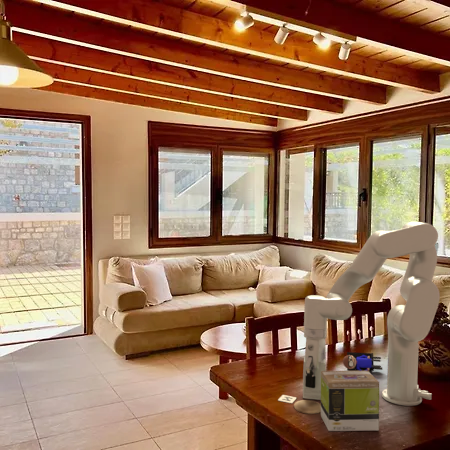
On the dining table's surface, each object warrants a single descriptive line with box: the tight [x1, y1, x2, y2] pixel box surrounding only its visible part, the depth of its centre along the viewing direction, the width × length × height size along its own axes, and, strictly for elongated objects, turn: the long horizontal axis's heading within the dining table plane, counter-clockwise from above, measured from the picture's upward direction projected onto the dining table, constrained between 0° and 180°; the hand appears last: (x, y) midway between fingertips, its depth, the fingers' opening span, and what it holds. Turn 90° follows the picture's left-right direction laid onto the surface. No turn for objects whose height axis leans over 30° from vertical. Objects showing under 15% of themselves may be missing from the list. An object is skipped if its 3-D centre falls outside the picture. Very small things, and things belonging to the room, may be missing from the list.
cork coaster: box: [293, 399, 321, 415], centre depth 154 cm, size 9×9×1 cm
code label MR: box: [277, 394, 298, 404], centre depth 160 cm, size 5×5×1 cm
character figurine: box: [342, 351, 383, 372], centre depth 187 cm, size 8×7×15 cm
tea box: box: [320, 370, 380, 432], centre depth 142 cm, size 15×10×15 cm, turn 92°
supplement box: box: [302, 355, 327, 401], centre depth 163 cm, size 7×7×13 cm
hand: (314, 382), depth 163 cm, fingers closed on supplement box, 8 cm apart
